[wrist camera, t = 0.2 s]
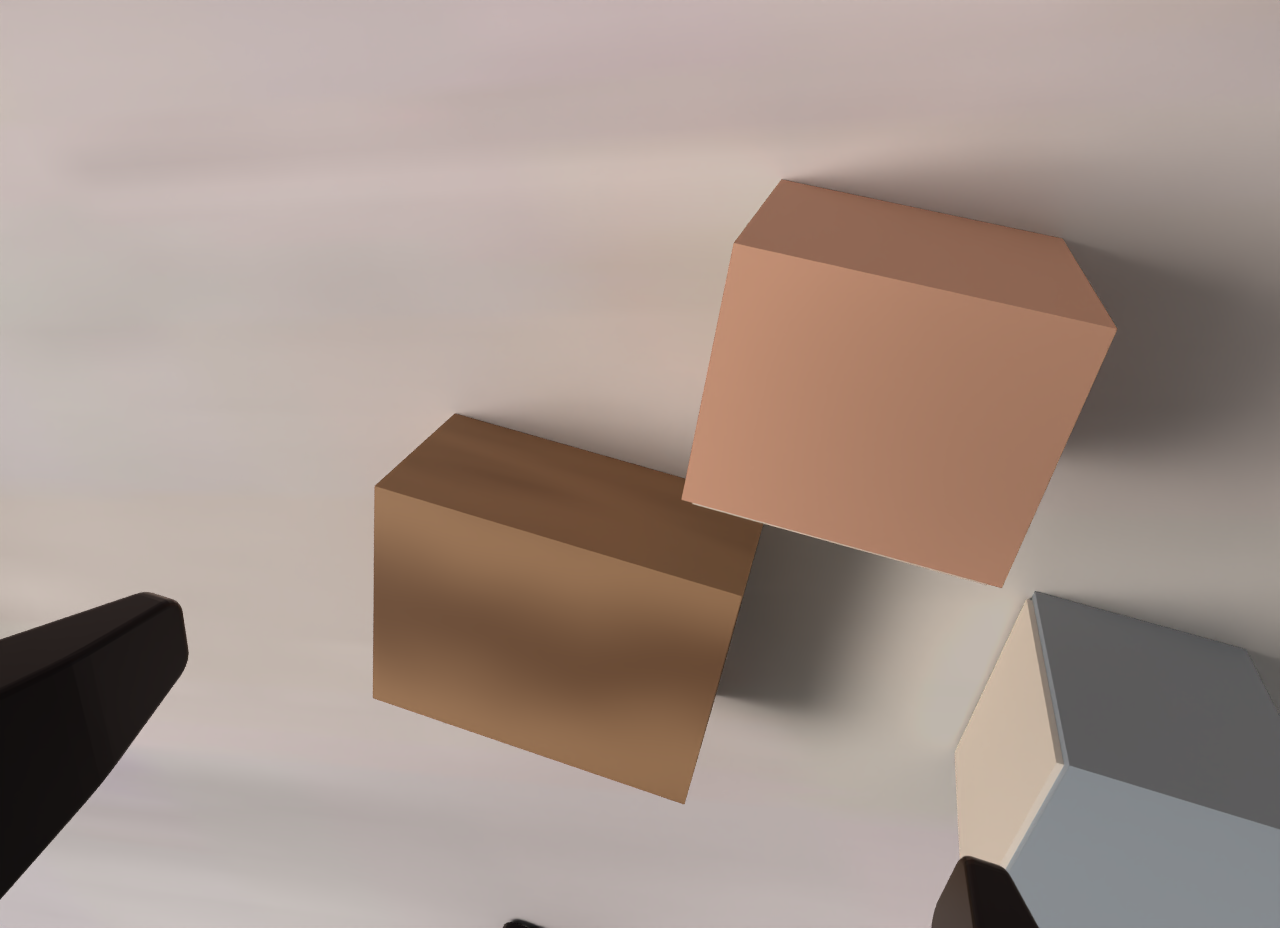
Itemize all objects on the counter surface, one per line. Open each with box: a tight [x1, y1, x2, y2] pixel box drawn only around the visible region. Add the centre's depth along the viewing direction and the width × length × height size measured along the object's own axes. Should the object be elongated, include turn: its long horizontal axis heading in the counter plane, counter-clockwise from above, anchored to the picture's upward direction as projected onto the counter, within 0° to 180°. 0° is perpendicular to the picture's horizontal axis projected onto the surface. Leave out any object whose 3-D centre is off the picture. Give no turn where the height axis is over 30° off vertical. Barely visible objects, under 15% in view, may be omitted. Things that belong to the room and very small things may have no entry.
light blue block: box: [955, 591, 1280, 928], centre depth 21 cm, size 6×5×6 cm
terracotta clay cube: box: [681, 180, 1117, 588], centre depth 18 cm, size 6×5×6 cm
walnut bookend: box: [373, 414, 763, 804], centre depth 24 cm, size 7×9×4 cm
